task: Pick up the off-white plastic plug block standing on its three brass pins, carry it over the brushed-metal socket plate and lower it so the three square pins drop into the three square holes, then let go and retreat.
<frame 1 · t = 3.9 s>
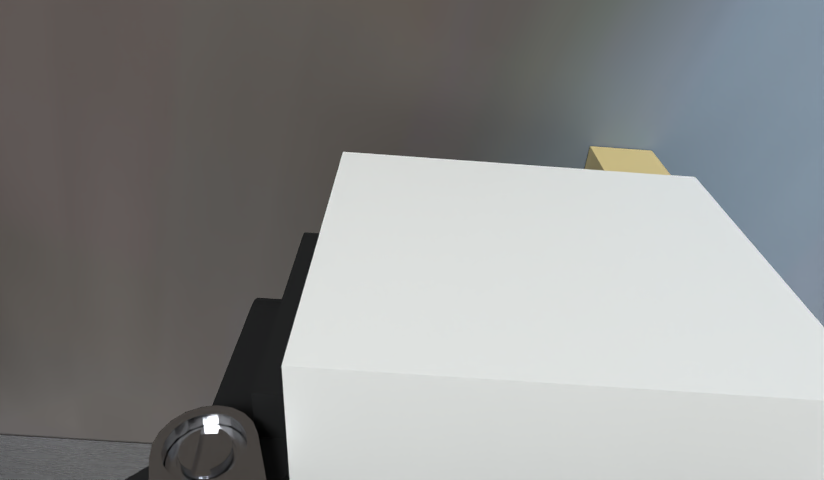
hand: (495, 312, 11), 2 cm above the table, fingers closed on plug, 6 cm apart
plug: (487, 259, 13), on the table, touching gripper
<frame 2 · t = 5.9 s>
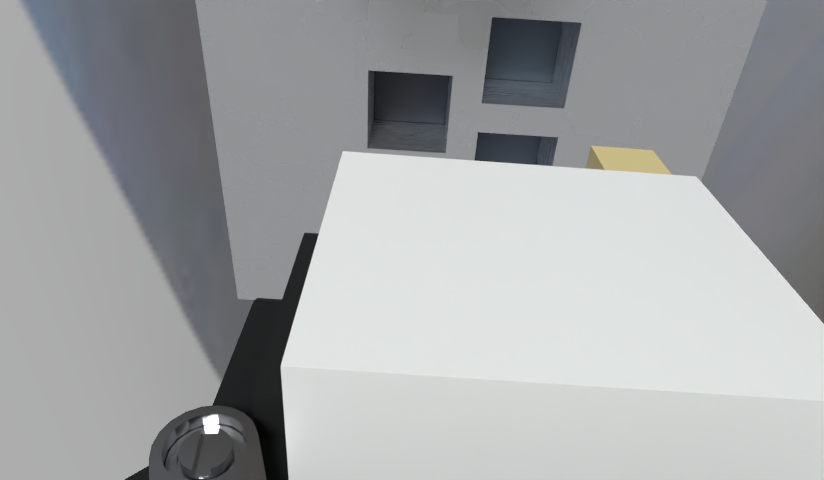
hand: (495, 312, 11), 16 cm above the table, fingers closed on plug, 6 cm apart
socket: (461, 90, 26), on the table
plug: (488, 259, 13), point 14 cm above the table, touching gripper
when the fingers open (4 cm above the table, at t = 8.0 s): plug stays where it is, resting on socket.
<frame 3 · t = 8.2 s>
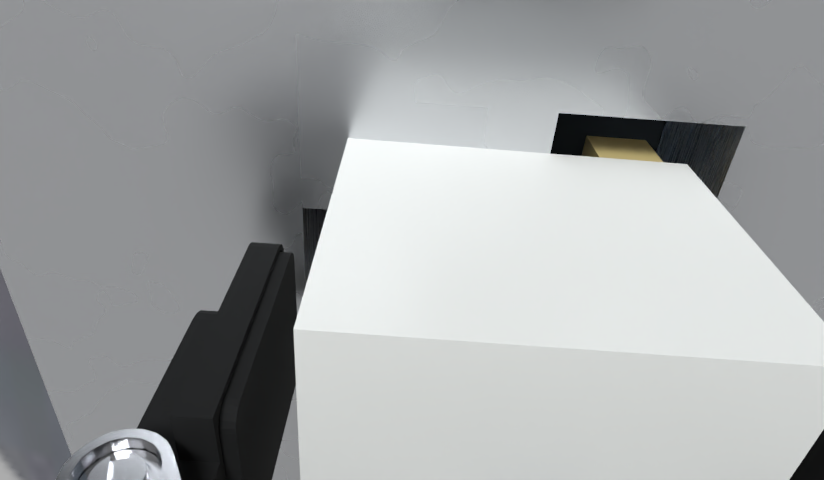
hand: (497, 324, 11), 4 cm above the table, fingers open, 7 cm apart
socket: (480, 214, 14), on the table
plug: (486, 246, 13), point 1 cm above the table, touching socket
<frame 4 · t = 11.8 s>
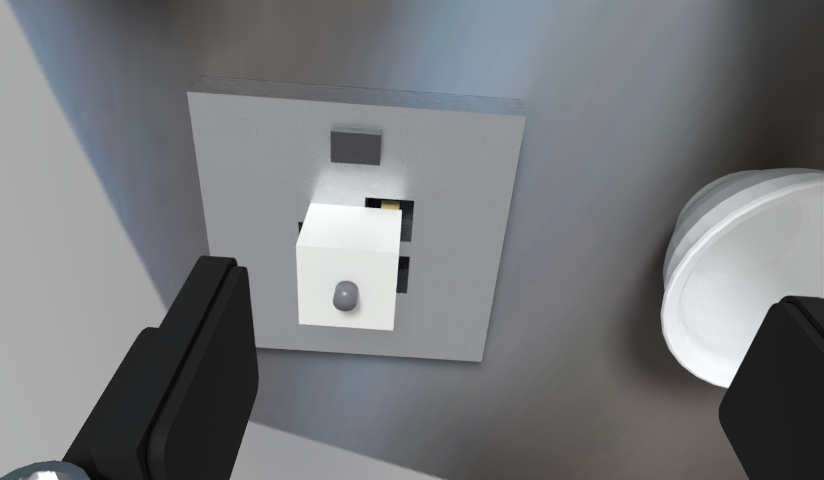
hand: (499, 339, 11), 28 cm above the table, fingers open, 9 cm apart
socket: (359, 222, 43), on the table
bowl: (735, 223, 42), on the table
plug: (357, 233, 41), point 1 cm above the table, touching socket
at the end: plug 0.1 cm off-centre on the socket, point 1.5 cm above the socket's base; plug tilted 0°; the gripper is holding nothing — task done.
